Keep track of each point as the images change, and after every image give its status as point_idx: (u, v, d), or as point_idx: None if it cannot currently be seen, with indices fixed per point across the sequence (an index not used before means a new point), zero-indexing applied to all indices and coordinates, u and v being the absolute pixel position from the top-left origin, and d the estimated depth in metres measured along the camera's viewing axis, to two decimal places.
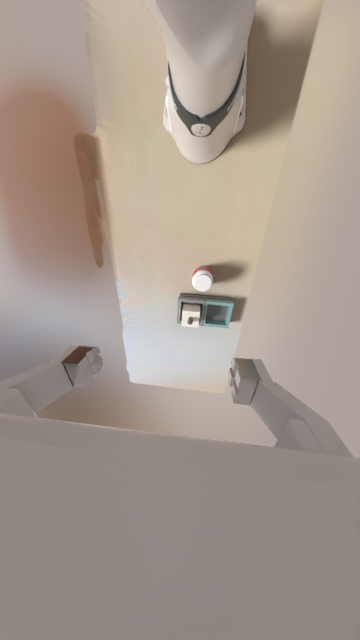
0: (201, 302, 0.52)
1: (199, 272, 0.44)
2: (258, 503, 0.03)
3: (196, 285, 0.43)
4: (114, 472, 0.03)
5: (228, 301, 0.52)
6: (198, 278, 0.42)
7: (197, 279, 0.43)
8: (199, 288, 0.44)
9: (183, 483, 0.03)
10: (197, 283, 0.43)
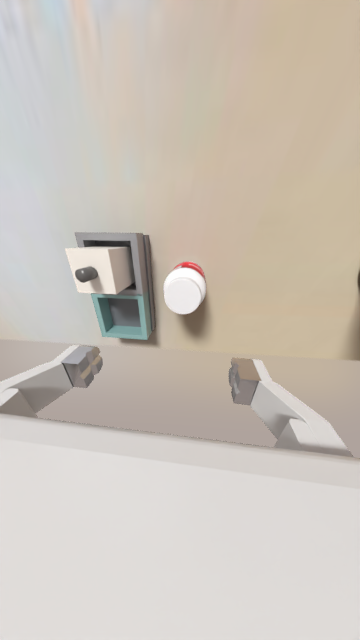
0: (138, 287, 0.26)
1: (202, 283, 0.21)
2: (258, 503, 0.03)
3: (176, 283, 0.19)
4: (114, 472, 0.03)
5: (149, 329, 0.31)
6: (193, 287, 0.19)
7: (190, 285, 0.19)
8: (170, 291, 0.19)
9: (183, 482, 0.03)
10: (181, 286, 0.19)
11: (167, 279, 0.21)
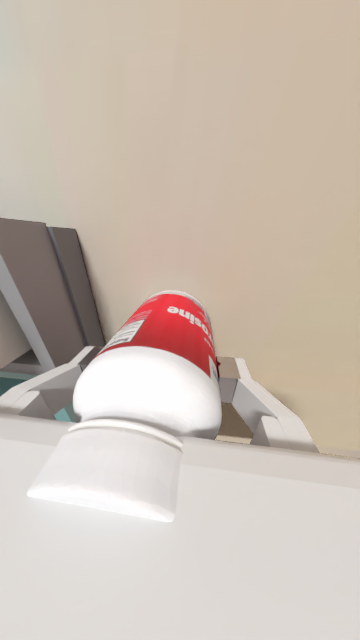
0: (44, 359, 0.10)
1: (209, 413, 0.05)
2: (258, 503, 0.03)
3: (63, 502, 0.03)
4: None
5: None
6: None
7: None
8: None
9: (183, 482, 0.03)
10: None
11: (76, 391, 0.06)
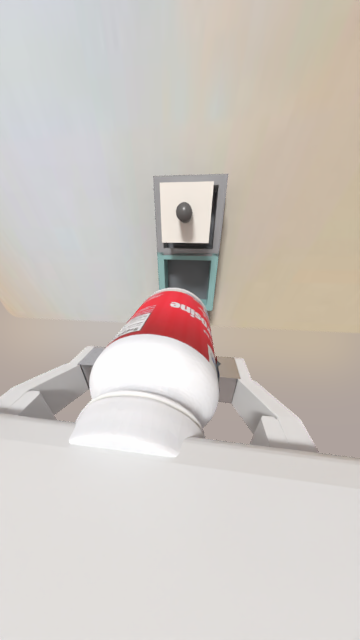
0: (215, 244, 0.23)
1: (208, 391, 0.06)
2: (258, 503, 0.03)
3: None
4: (114, 472, 0.03)
5: None
6: None
7: None
8: None
9: (183, 482, 0.03)
10: None
11: (93, 373, 0.06)
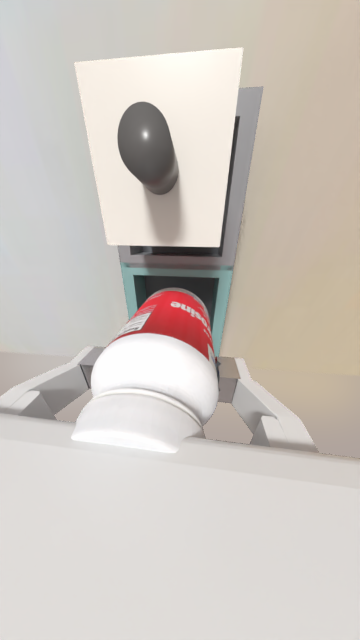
0: (228, 249, 0.12)
1: (208, 389, 0.06)
2: (258, 503, 0.03)
3: None
4: (114, 472, 0.03)
5: None
6: None
7: None
8: None
9: (183, 483, 0.03)
10: None
11: (95, 371, 0.06)
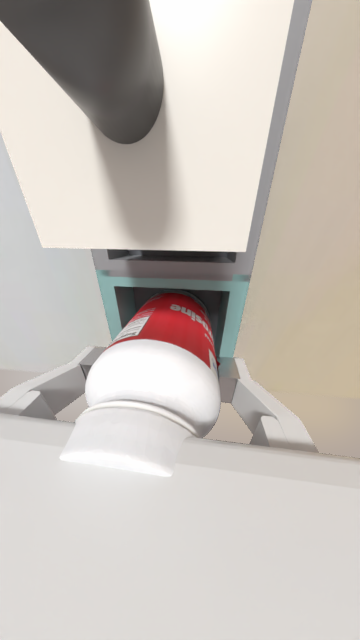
0: (244, 252, 0.08)
1: (209, 400, 0.06)
2: (258, 503, 0.03)
3: None
4: (114, 472, 0.04)
5: None
6: None
7: None
8: None
9: (183, 483, 0.03)
10: None
11: (89, 379, 0.06)
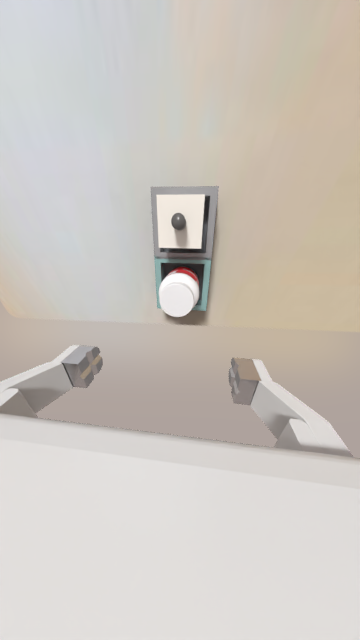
0: (208, 249, 0.25)
1: (195, 288, 0.22)
2: (258, 503, 0.03)
3: (171, 288, 0.20)
4: (114, 472, 0.04)
5: None
6: (186, 291, 0.20)
7: (184, 289, 0.20)
8: (165, 295, 0.20)
9: (183, 483, 0.03)
10: (175, 290, 0.20)
11: (162, 284, 0.22)
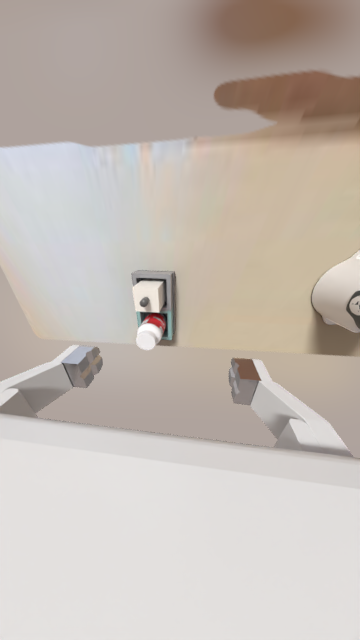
0: (168, 305, 0.40)
1: (158, 332, 0.37)
2: (258, 503, 0.03)
3: (141, 335, 0.35)
4: (114, 472, 0.03)
5: (172, 332, 0.45)
6: (150, 337, 0.35)
7: (149, 336, 0.35)
8: (139, 338, 0.35)
9: (182, 483, 0.03)
10: (144, 336, 0.35)
11: (138, 329, 0.37)
